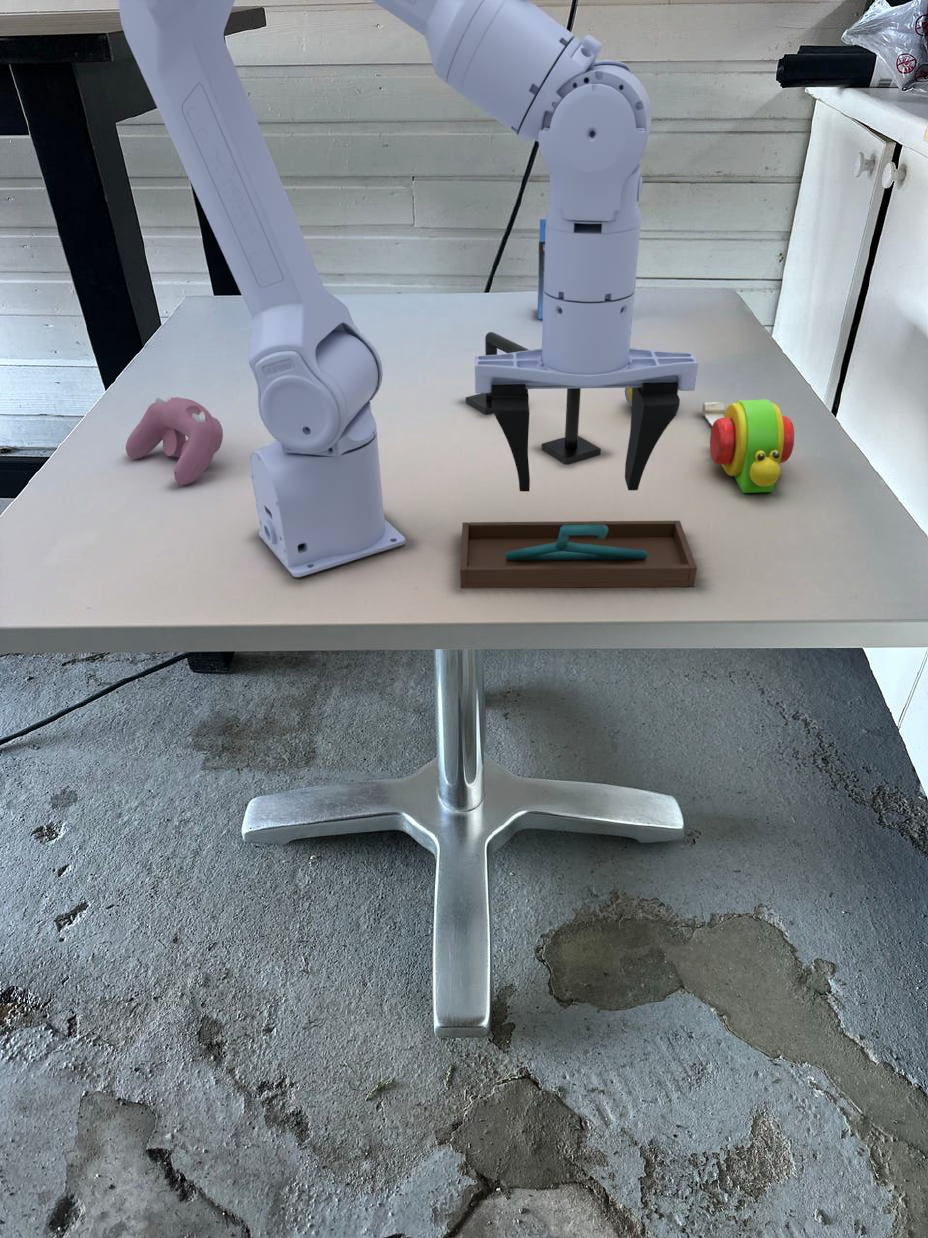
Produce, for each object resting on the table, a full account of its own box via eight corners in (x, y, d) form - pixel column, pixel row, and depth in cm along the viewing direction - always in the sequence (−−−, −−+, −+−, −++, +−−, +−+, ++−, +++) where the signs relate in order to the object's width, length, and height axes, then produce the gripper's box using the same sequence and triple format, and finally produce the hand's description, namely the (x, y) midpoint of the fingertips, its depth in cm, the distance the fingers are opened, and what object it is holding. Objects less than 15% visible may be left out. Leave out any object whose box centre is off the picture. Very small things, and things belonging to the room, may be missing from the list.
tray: (460, 588, 65) (460, 569, 64) (462, 539, 71) (462, 521, 70) (694, 586, 65) (697, 567, 64) (677, 537, 70) (680, 520, 69)
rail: (565, 464, 82) (569, 384, 77) (465, 402, 94) (463, 330, 90) (600, 454, 83) (606, 375, 79) (497, 394, 96) (497, 323, 92)
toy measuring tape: (725, 505, 75) (737, 432, 71) (680, 414, 90) (688, 350, 87) (801, 504, 74) (818, 430, 71) (743, 413, 90) (754, 349, 86)
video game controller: (220, 491, 82) (237, 416, 80) (177, 486, 78) (193, 408, 77) (162, 461, 88) (177, 390, 86) (119, 455, 84) (134, 381, 82)
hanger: (505, 561, 68) (506, 533, 61) (505, 552, 68) (506, 524, 61) (646, 560, 67) (663, 532, 61) (646, 551, 67) (663, 522, 61)
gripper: (692, 271, 59) (669, 459, 67) (474, 275, 60) (477, 461, 67) (714, 302, 53) (686, 503, 61) (473, 306, 54) (476, 505, 62)
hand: (577, 484), depth 64 cm, fingers open, 7 cm apart
